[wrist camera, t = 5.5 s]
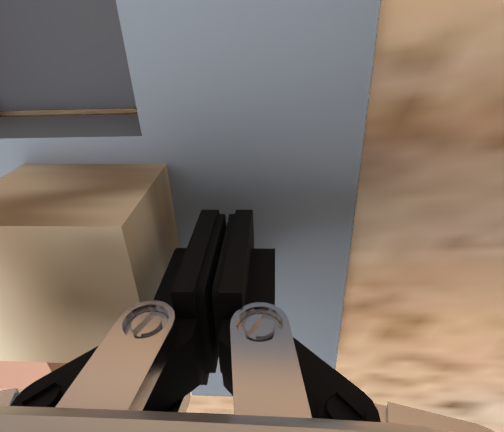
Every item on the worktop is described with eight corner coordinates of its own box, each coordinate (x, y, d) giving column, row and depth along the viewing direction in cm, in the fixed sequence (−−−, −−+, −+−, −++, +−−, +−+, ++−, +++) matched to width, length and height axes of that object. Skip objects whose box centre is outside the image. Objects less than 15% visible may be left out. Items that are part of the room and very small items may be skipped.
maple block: (166, 163, 12) (121, 226, 8) (184, 280, 14) (155, 366, 11) (23, 164, 12) (-78, 225, 9) (64, 278, 15) (0, 360, 11)
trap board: (369, -120, 10) (464, -251, 5) (324, 349, 20) (340, 467, 15) (-280, -78, 12) (-716, -146, 7) (-24, 341, 22) (-118, 444, 17)
